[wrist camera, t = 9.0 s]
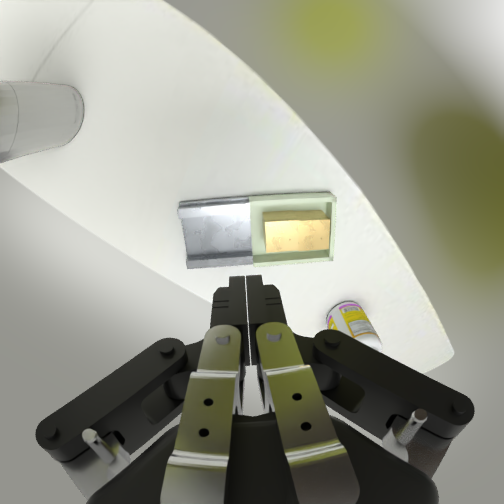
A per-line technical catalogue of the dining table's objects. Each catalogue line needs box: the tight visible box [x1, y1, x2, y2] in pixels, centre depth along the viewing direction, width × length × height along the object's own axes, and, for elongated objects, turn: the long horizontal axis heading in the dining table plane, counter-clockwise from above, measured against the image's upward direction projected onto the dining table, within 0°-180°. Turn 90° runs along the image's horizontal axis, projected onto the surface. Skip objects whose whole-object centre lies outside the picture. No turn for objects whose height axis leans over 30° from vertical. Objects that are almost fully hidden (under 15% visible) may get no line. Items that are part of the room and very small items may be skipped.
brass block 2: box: [293, 210, 330, 251], centre depth 37 cm, size 4×4×4 cm
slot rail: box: [178, 196, 253, 269], centre depth 38 cm, size 9×9×2 cm
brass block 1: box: [262, 210, 298, 253], centre depth 37 cm, size 4×4×4 cm
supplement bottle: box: [327, 302, 382, 352], centre depth 41 cm, size 7×7×13 cm
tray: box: [249, 192, 337, 267], centre depth 38 cm, size 11×9×3 cm
